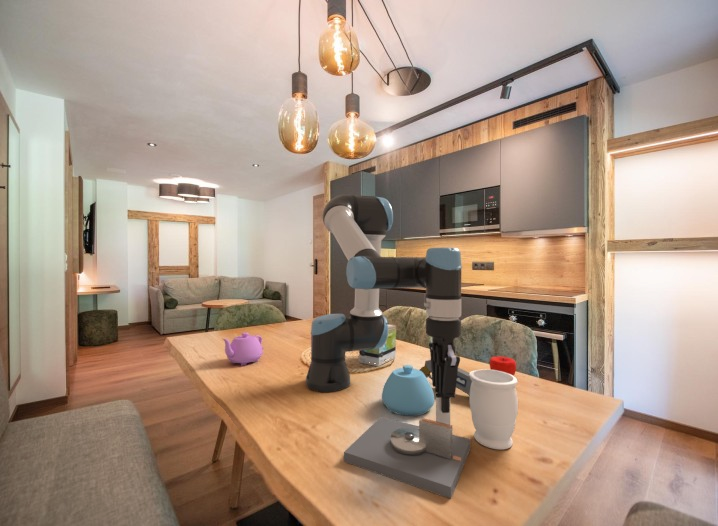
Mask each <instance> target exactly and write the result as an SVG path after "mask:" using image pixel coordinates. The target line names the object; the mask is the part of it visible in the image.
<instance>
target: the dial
mask: <svg viewBox="0 0 718 526" xmlns="http://www.w3.org/2000/svg"><path fill="white" fill-rule="evenodd" d="M418 424H419V425H418V426H419V430H417V429H412V428H402V429H398V430H395V431H394V432H393V433H392V434H391V446H392V448H393V449H394V450H395V451H397V452H399V453H402V454H405V455H419V454H422V453H424V452H429V453H432V454H435V455H439V456H442V457H445V458H448V459H451V457H452V435H453V425H451V424H450V425H449V424H445V423H441V422H437V421H436V420H432V419H428V418H425V417H424V418H423V417H421V418H420V419H419V420H418Z"/></svg>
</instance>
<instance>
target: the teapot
mask: <svg viewBox="0 0 718 526" xmlns="http://www.w3.org/2000/svg"><path fill="white" fill-rule="evenodd" d="M222 340H223V341H224V345H225V346H224V353H225V355H226V358H227V360H228V361H230V362H231V364H240V366H242V367H243V366H244V367H245V366H247V365H248V363H258V362H259V360H260V358H262V355H263V354H264V352H263V349H264V347H263V346H262V342H263V338H262V336H261V335H259V334H258V335H257V334H256V335H251V334H250V333H249V332H242V333H241V335H238V336H235V337H234V338H233V339H232V341H231V342H230V340H229V339H227V338H222Z"/></svg>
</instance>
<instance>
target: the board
mask: <svg viewBox="0 0 718 526" xmlns="http://www.w3.org/2000/svg"><path fill="white" fill-rule="evenodd" d="M402 428H412V429H417V430H419V425H416V424H412V423H407V422H403V421H400V420H395V419H391V418H388V417H384V416H380V417H379V418H378V419H377V420H376V421H374V423H373V424H372V425H371V426H369V427H368V428H367V429H366V430H365V431H364V432H363V433H362V434H361V435H360V436H359V437H358V438H357V439H356V440H354V442H353V443H352V444H351V445H350V446H348V447H347V448H346V449H345V451H343V462H344V463H347V464H350V465H353V466H355V467H358V468H362V469H364V470H367V471H370V472H374V473H376V474H379V475H382V476H384V477H388V478H390V479H393V480H397V481H399V482H402V483H404V484H407V485H410V486H414V487H415V488H419V489H421V490H423V491H424V490H425V491H428V492H431V493H433V494H436V495H439V496H442V497H445V498H448V499H452V497H453V495H454V492H455V490H456V487H457V484H458V482H459V479H460V476H461V473H462V471H463V468H464V467H465V463H466V461H467V459H468V455H469V452H470V450H471V439H470V438H467V437H463V436H458V435H455V434H452V457H451V459H448V458H445V457H442V456H439V455H435V454H432V453H429V452H424V453H422V454H419V455H405V454H402V453H399V452H397V451H395V450H394V449H393V448H392V446H391V434H392V433H393V432H394V431H395V430H398V429H402Z"/></svg>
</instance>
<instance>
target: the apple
mask: <svg viewBox="0 0 718 526" xmlns="http://www.w3.org/2000/svg"><path fill="white" fill-rule="evenodd" d="M489 368H490V369H489V370H497V371H502V372H506V373H509V374H511V375H513V376H515V374H516V372H517V362H516V361H515V359H513V358H510V357H507V356H493V357H490V360H489Z"/></svg>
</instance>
